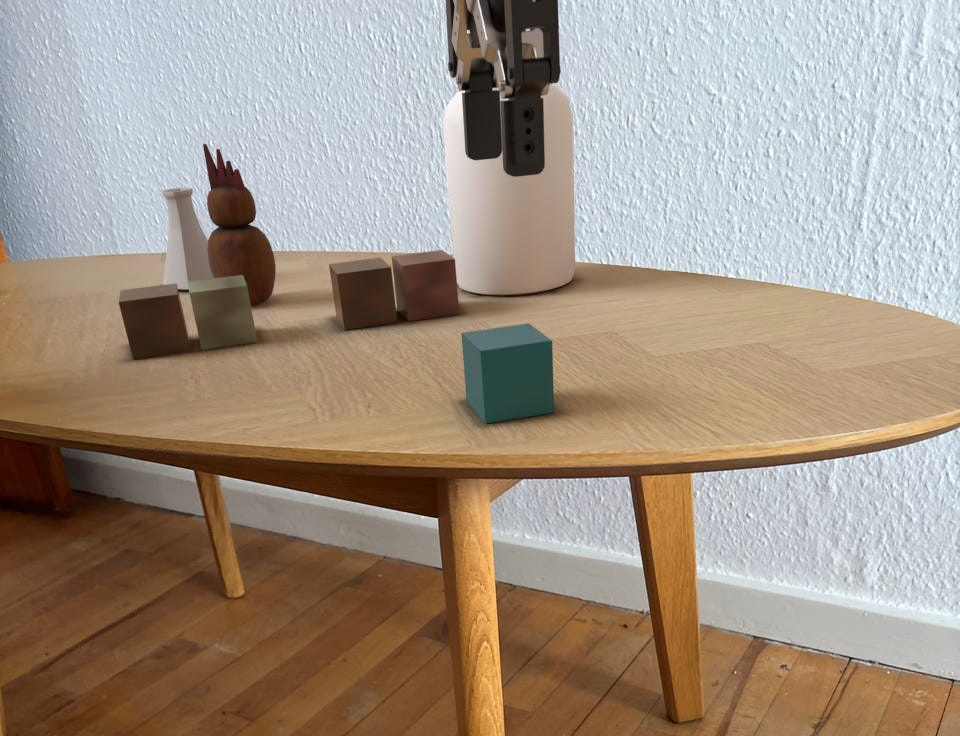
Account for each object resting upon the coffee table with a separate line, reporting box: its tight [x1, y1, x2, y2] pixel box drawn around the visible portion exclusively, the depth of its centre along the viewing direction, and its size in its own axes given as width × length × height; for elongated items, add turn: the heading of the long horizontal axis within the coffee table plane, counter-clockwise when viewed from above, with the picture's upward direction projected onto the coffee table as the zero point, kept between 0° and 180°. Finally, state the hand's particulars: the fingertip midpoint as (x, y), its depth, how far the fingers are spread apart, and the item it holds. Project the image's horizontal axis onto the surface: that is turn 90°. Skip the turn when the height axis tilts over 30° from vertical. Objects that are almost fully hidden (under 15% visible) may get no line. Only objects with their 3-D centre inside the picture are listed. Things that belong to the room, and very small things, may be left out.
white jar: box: [442, 83, 576, 296], centre depth 98 cm, size 12×12×20 cm
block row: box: [118, 249, 460, 360], centre depth 92 cm, size 30×5×5 cm, turn 106°
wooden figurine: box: [202, 143, 277, 307], centre depth 100 cm, size 7×6×15 cm
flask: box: [161, 187, 214, 290], centre depth 111 cm, size 7×7×10 cm
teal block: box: [461, 322, 555, 425], centre depth 69 cm, size 5×5×5 cm
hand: (503, 166), depth 59 cm, fingers open, 8 cm apart
